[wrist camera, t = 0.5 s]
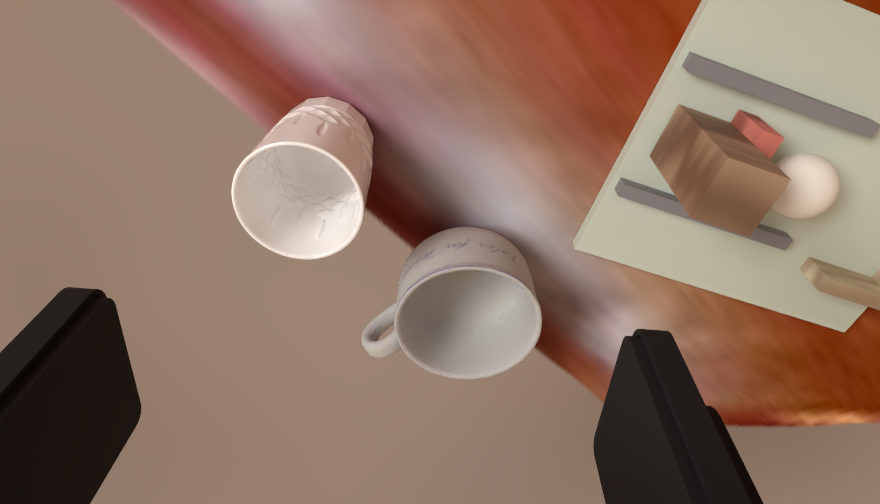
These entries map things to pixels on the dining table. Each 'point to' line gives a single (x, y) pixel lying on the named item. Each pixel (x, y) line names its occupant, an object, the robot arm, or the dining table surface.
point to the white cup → (307, 180)
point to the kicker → (721, 167)
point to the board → (805, 131)
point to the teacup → (461, 307)
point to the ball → (807, 186)
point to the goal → (843, 282)
